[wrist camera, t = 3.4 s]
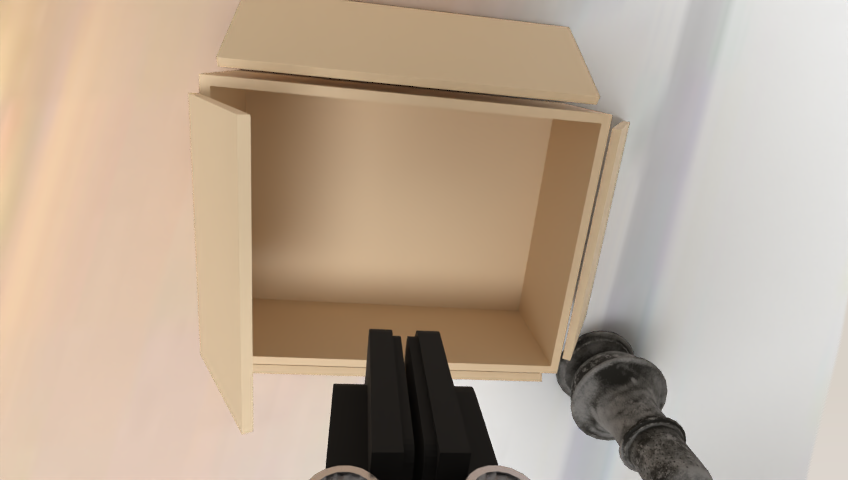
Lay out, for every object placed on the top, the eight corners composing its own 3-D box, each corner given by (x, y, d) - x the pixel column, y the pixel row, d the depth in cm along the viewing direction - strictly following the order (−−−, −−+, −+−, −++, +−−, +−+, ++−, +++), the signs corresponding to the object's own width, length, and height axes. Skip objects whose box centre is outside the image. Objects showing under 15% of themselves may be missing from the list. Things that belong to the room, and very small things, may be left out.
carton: (639, 37, 27) (716, 31, 21) (567, 366, 34) (609, 434, 28) (237, -11, 24) (194, -33, 18) (243, 355, 31) (212, 427, 25)
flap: (199, 93, 20) (250, 114, 15) (209, 352, 23) (253, 431, 19) (188, 92, 19) (236, 114, 15) (200, 354, 23) (242, 434, 19)
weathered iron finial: (596, 417, 35) (703, 586, 24) (533, 377, 34) (615, 539, 22) (655, 355, 34) (797, 502, 23) (592, 311, 32) (711, 446, 21)
